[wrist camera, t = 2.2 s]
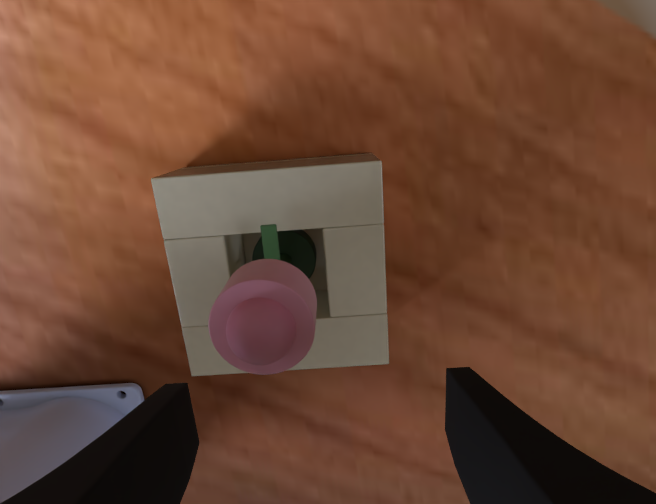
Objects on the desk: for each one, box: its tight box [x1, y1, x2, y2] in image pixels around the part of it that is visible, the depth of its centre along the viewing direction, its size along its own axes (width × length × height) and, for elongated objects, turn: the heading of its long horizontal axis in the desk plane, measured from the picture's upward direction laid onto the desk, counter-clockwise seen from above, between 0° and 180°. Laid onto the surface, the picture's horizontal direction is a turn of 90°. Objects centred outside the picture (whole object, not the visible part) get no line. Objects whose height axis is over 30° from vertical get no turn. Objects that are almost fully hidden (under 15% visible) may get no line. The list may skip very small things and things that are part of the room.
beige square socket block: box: [151, 153, 389, 376], centre depth 19 cm, size 9×9×4 cm
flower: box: [208, 224, 317, 375], centre depth 16 cm, size 3×4×9 cm
